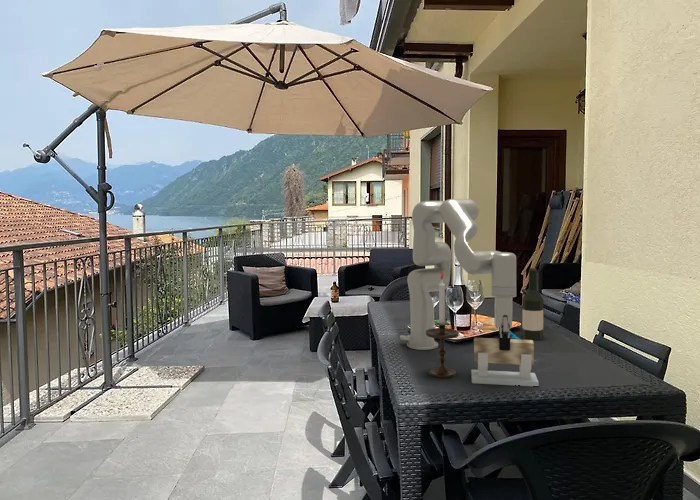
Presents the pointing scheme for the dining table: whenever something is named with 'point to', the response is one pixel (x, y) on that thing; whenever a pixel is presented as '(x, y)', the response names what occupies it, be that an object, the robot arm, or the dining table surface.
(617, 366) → the dining table surface
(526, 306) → the wine bottle
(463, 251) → the robot arm
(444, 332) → the candlestick
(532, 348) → the rail
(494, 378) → the cradle
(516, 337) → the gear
